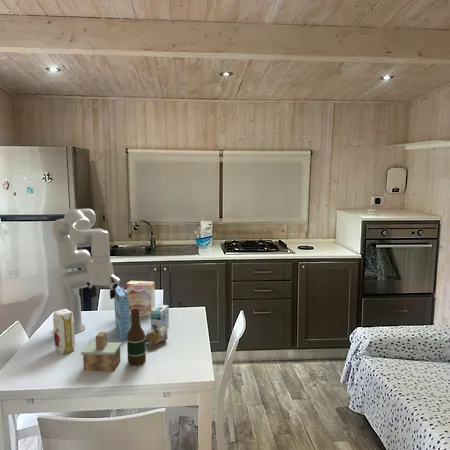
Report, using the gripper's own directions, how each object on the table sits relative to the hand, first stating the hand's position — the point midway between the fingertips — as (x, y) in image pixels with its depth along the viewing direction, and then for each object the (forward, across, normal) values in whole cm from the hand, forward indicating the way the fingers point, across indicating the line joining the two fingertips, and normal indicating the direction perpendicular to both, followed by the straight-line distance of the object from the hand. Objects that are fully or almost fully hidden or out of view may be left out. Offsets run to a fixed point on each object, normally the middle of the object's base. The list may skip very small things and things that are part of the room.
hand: (103, 297), depth 178 cm
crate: (+29, +1, -5) cm, 29 cm away
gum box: (+28, -11, +30) cm, 43 cm away
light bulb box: (+28, +4, +44) cm, 52 cm away
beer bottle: (+29, +14, +3) cm, 32 cm away
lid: (+23, +1, -5) cm, 23 cm away
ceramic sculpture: (+29, +12, +23) cm, 39 cm away
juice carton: (+28, -25, +3) cm, 38 cm away
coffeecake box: (+28, -15, +58) cm, 66 cm away
